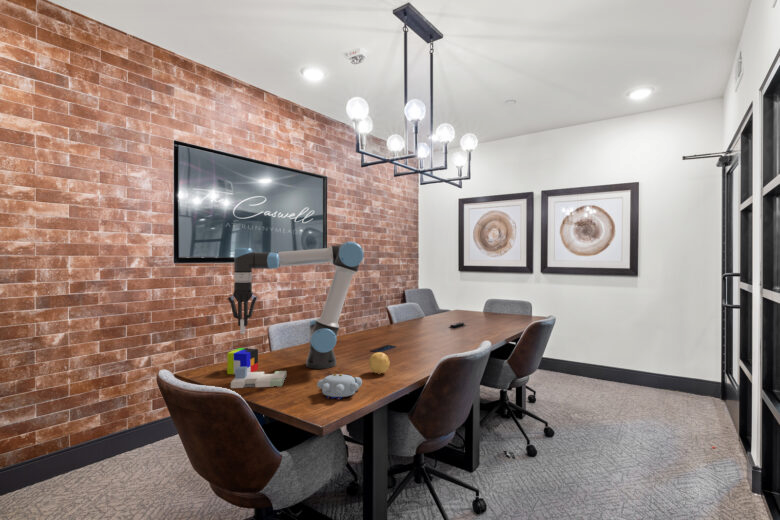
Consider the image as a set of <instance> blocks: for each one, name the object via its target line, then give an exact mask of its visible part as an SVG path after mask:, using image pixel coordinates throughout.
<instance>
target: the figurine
mask: <svg viewBox="0 0 780 520" xmlns="http://www.w3.org/2000/svg"><path fill="white" fill-rule="evenodd" d="M362 384H363V379H362V378H361V377H359V376H355V377H354V376H352V375H351V374H347V373H346V374H345V373H344V374H342V373H339V374H337V373H334V374H330V375H326V376H325V377H324V378H323V379H319V380H318V381H317V382H316V387H317V388H318V389H321V391H322V394H323V395H325V396H326V399H327V398H328V397H330V399H334V398H336V400H337V399H338V398H339V399H340V400H341V399H343V398H345V397H350V396H353V395H355V393H356V392H357V391H358V390H359V388H360V387H362Z"/></svg>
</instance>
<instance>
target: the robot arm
mask: <svg viewBox="0 0 780 520" xmlns="http://www.w3.org/2000/svg"><path fill="white" fill-rule="evenodd" d="M364 254H365V253H364V250H363V247H362V246H361V245H360V244H358V243H357V242H355V241H346V242H343V243H340V244H337V245H330V246H329V247H327V248H312V249H299V250H298V249H297V250H287V251H277V252H276V251H273V252H270V251H269V252H253V249H252V248H251V247H237V248H235V250H234V256H233V264H234V265H233V266H234V268H233V271H234V273H233V275H234V277H233V279H234V283H233V290H234V292H232V293H233V294H232V295H231V296H229V297H227V300H228V301H229V303H230V307H231V312H232V315H233V318H234V319H237V326H238V327H240V330H239V331H240V333H239V334H241V335H244V334H245V333H246V327H247V326H248V324H249V323H248V321H249V320H248V319H251V318H252V316H253V313H254V309H255V305H256V302H257V300H258V298H259V297H258V296H256V295H254V293H253V289H252V287H253V282H252V280H253V278H252V277H253V276H252V275H253V272H252V271H253V269H254V270H255V269H259V270H274V269H278V268H281V267H284V268H285V267H293V266H295V267H296V266H306V265H308V266H309V265H320V264H331V265H333V266H334V268H335V270H334V274H333V277H332V279H331V280H332V281H331V283H330V287H329V290H328V293H327V297H326V300H325V303H324V306H323V309H322V312H321V315H320V317H318V318H317V319H316V320H315V319H314V320H311V321H310V322H309V352H308V355H307V358H306V360H305V361H306V363H305V365H306V368H309V369H316V370H321V369H329V368H333V367H335V366H337V359H336V356H335V352H334V348H335V346H336V344H337V340H338V339H337V336H338V332H339V330H340V324H339V319H340V316H341V313H342V310H343V307H344V304H345V300H346V298H347V296H348V295H347V294H348V291H349V288H350V285H351V282H352V280H353V276H354V275H356V274H357V273H358V270H359V267H360V264H361V263H362V261H363V260H364ZM250 299H251V303H250V307H249V301H250ZM235 300H236V302H237V306H236V302H235Z"/></svg>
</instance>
